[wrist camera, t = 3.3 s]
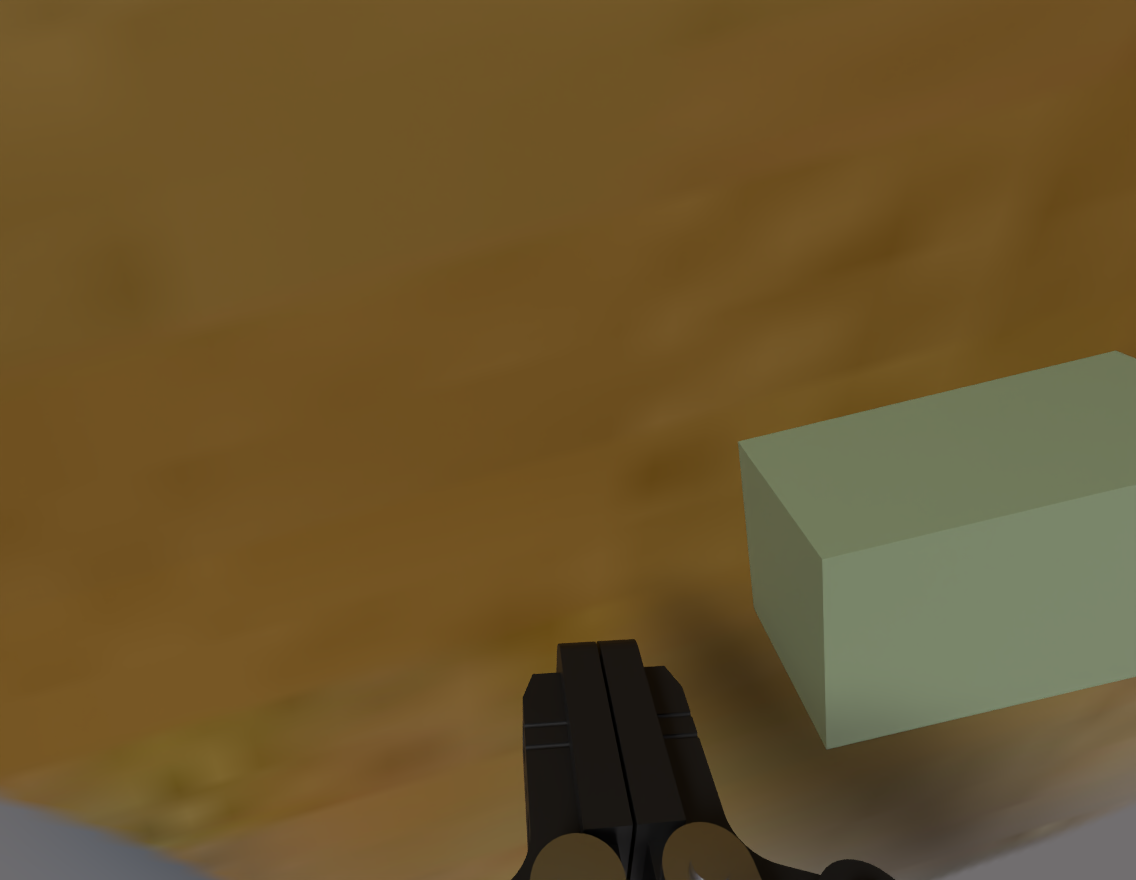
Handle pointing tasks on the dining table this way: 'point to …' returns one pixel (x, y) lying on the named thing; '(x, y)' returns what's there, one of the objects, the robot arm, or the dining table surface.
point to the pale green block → (950, 549)
